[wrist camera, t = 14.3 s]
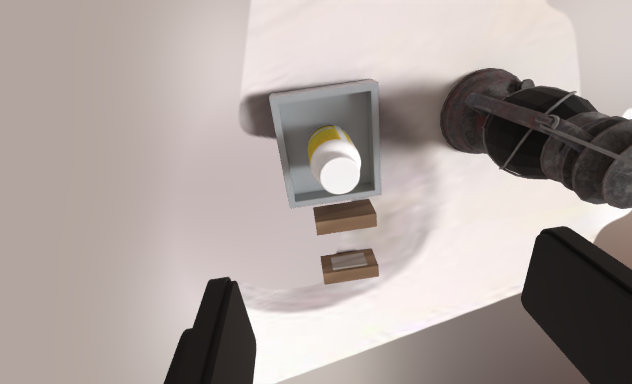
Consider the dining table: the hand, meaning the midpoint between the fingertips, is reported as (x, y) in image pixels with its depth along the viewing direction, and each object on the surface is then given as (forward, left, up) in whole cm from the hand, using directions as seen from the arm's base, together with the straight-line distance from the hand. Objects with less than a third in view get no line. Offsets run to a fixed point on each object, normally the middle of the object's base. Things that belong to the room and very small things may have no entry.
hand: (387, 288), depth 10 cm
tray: (+5, +1, -30) cm, 31 cm away
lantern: (+4, +21, -31) cm, 37 cm away
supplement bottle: (+5, +1, -30) cm, 30 cm away
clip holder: (+20, +2, -30) cm, 36 cm away
